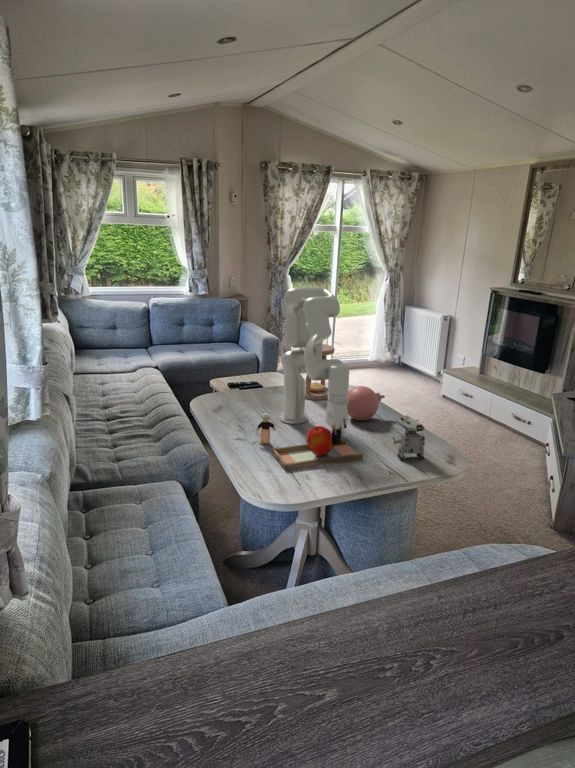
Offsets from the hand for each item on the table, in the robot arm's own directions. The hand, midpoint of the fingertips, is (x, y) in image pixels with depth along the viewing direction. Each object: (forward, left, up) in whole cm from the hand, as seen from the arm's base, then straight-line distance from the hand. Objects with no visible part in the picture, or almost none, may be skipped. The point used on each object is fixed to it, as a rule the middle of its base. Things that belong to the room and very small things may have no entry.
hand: (336, 443), depth 201 cm
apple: (0, -5, -4) cm, 6 cm away
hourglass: (-71, +21, -5) cm, 74 cm away
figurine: (+9, +26, -5) cm, 28 cm away
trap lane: (-1, -7, -5) cm, 8 cm away
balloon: (-32, +29, -5) cm, 43 cm away
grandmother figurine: (-19, -22, -5) cm, 29 cm away
